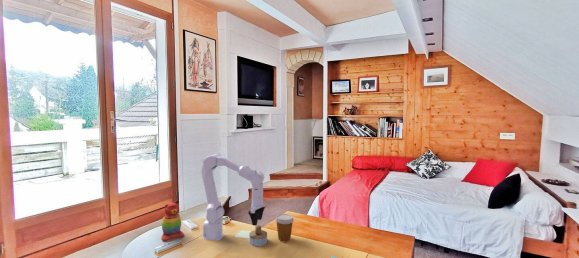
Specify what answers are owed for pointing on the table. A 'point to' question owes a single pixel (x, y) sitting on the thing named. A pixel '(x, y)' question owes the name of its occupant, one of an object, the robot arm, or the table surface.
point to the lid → (258, 233)
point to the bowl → (258, 241)
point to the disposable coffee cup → (284, 227)
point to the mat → (243, 234)
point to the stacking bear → (171, 223)
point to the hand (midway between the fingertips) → (257, 222)
